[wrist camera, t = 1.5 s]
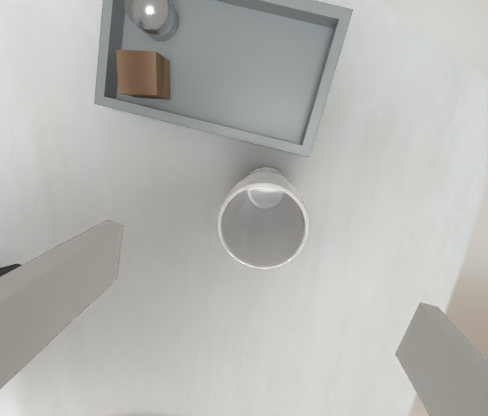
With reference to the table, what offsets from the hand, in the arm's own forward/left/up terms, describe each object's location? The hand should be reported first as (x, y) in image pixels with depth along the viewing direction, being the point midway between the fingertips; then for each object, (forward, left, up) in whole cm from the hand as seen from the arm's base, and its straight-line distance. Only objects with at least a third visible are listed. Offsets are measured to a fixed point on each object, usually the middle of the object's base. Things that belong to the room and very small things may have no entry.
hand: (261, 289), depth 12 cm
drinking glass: (0, 0, -23) cm, 23 cm away
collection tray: (-9, +12, -23) cm, 27 cm away
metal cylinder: (-16, +15, -23) cm, 31 cm away
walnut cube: (-16, +9, -23) cm, 29 cm away
